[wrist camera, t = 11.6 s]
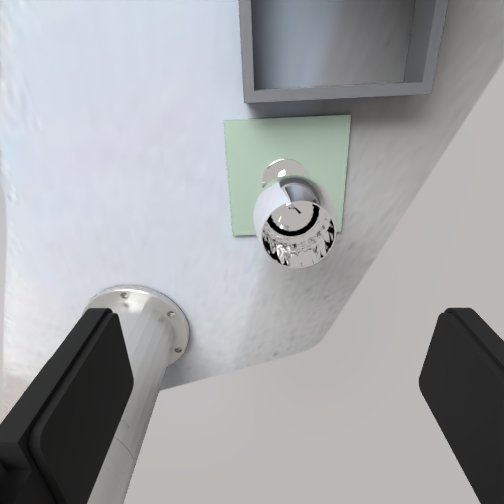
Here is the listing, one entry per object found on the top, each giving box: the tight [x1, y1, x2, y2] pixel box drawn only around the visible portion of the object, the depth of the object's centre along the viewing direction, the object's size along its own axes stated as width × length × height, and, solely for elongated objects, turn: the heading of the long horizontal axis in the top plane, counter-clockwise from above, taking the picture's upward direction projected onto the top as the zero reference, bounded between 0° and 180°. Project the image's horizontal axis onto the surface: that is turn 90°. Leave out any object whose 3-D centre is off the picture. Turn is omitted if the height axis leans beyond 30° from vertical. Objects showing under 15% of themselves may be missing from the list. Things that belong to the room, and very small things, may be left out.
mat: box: [223, 114, 351, 236], centre depth 31 cm, size 11×11×1 cm
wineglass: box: [253, 158, 337, 268], centre depth 26 cm, size 6×6×12 cm
